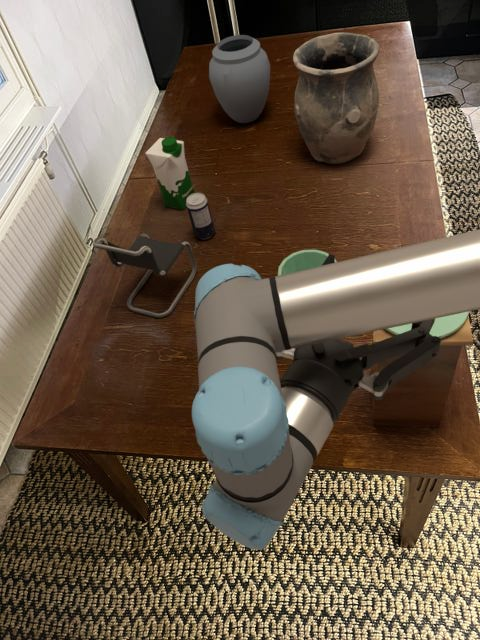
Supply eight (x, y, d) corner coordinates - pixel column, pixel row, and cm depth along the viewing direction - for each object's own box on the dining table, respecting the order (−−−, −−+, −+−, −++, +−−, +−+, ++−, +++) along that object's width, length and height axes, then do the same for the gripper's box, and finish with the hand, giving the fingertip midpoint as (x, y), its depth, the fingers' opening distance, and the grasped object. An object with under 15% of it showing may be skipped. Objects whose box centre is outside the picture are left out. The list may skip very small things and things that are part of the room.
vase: (209, 116, 182) (193, 43, 164) (258, 96, 186) (248, 22, 167) (233, 140, 170) (220, 65, 151) (286, 118, 174) (279, 42, 155)
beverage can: (219, 229, 143) (210, 193, 134) (209, 242, 140) (200, 207, 131) (200, 225, 146) (191, 190, 136) (191, 239, 143) (180, 204, 133)
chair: (121, 310, 130) (88, 244, 113) (156, 261, 139) (130, 194, 122) (166, 321, 125) (139, 254, 108) (199, 271, 134) (178, 202, 117)
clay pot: (302, 131, 167) (295, 32, 144) (377, 128, 162) (382, 25, 139) (294, 174, 154) (284, 73, 131) (375, 172, 148) (380, 67, 126)
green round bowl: (339, 315, 118) (339, 292, 113) (279, 315, 121) (275, 293, 115) (339, 271, 127) (339, 248, 121) (283, 272, 129) (280, 250, 124)
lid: (475, 343, 76) (489, 298, 68) (371, 343, 78) (373, 300, 71) (461, 270, 85) (472, 223, 77) (367, 272, 87) (369, 227, 80)
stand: (445, 432, 97) (473, 341, 76) (367, 429, 100) (373, 341, 79) (436, 368, 106) (459, 271, 84) (365, 368, 109) (369, 273, 87)
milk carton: (185, 213, 150) (167, 151, 135) (159, 207, 154) (139, 147, 138) (200, 194, 155) (184, 133, 139) (175, 189, 158) (157, 128, 143)
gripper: (217, 382, 66) (296, 269, 76) (413, 471, 55) (475, 326, 65) (204, 346, 60) (292, 230, 70) (421, 438, 49) (488, 285, 59)
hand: (380, 276), depth 68 cm, fingers open, 13 cm apart
